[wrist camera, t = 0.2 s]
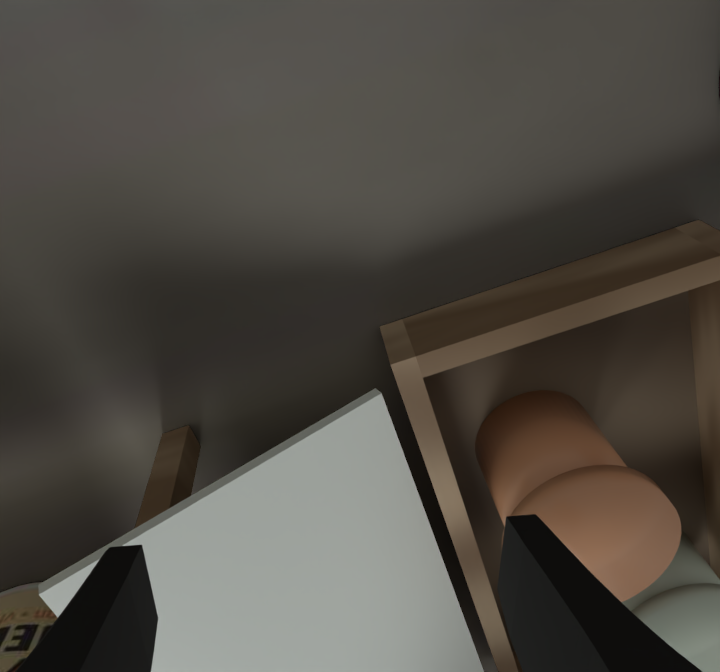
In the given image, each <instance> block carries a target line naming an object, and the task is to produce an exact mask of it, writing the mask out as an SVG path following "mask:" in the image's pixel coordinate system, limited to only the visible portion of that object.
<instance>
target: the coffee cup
mask: <svg viewBox="0 0 720 672" xmlns="http://www.w3.org/2000/svg"><path fill="white" fill-rule="evenodd" d="M41 583H42V582H37V583H30V584H25V585H20V586H17V587H14V588H11V589H8V590H6V591H3V592H1V593H0V672H15V671H16V670H17V669H18V667H19V666H20V665H21V664H22V663H23V661H24V660H25V659H26V658H27V657H28V655H29V654H30V653H31V652H32V650H33V649H34V648H35V647H36V645H37V644H38V643H39V642H40V640H41V639H42V638H43V636H44V635H45V634H46V632H47V631H48V630H49V629H50V627H51V626H52V625H53V623H54V622H55V621H56V619H57V618H58V617H57V616H56V615H55V614H54V612H53V611H52V610H51V609H50V608H49V606H48V605H47V604H46V603H45V602H44V600H43V599H42V598H41V597H40V596H39V588H38V585H39V584H41Z"/></svg>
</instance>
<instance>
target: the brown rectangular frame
mask: <svg viewBox="0 0 720 672" xmlns="http://www.w3.org/2000/svg"><path fill="white" fill-rule="evenodd" d="M380 330H381V333H382V337H383V340H384V344H385V348H386V351H387V355H388V358H389V362H390V365H391V368H392V371H393V374H394V376H395V379H396V382H397V385H398V388H399V391H400V394H401V396H402V399H403V402H404V405H405V408H406V411H407V414H408V416H409V419H410V422H411V425H412V428H413V431H414V433H415V436H416V439H417V442H418V445H419V448H420V451H421V453H422V456H423V459H424V462H425V465H426V468H427V471H428V473H429V476H430V479H431V482H432V485H433V488H434V490H435V493H436V496H437V499H438V502H439V505H440V508H441V510H442V513H443V516H444V519H445V522H446V525H447V528H448V530H449V533H450V536H451V539H452V542H453V545H454V547H455V550H456V553H457V556H458V559H459V562H460V565H461V567H462V570H463V573H464V576H465V579H466V582H467V585H468V587H469V590H470V593H471V596H472V599H473V602H474V604H475V607H476V610H477V613H478V616H479V619H480V622H481V624H482V627H483V630H484V633H485V636H486V639H487V642H488V644H489V647H490V650H491V653H492V656H493V659H494V661H495V664H496V667H497V670H498V672H523V670H522V668H521V665H520V663H519V660H518V657H517V655H516V652H515V650H514V647H513V644H512V642H511V639H510V635H509V632H508V628H507V625H506V621H505V617H504V614H503V610H502V606H501V602H500V598H499V594H498V590H497V586H498V578H499V570H500V562H501V554H502V535H503V531H504V528H505V527H504V525H503V522H502V520H501V517H500V515H499V513H498V510H497V508H496V505H495V503H494V501H493V498H492V496H491V493H490V491H489V488H488V486H487V484H486V481H485V479H484V476H483V474H482V472H481V469H480V467H479V464H478V462H477V459H476V455H475V441H476V437H477V433H478V431H479V429H480V427H481V425H482V423H483V422H484V420H485V419H486V418H487V416H488V415H489V414H490V413H491V412H492V411H493V410H494V409H495V408H497V407H498V406H499V405H500V404H502V403H504V402H505V401H507V400H509V399H511V398H512V397H515V396H517V395H520V394H523V393H526V392H531V391H537V390H550V391H557V392H561V393H564V394H567V395H569V396H571V397H573V398H574V399H575V400H577V401H578V402H579V403H580V404H581V405H582V406H583V407H584V409H585V410H586V411H587V413H588V414H589V415H590V417H591V418H592V420H593V421H594V422H595V424H596V425H597V426H598V428H599V429H600V430H601V432H602V433H603V434H604V436H605V437H606V439H607V440H608V441H609V443H610V444H611V445H612V447H613V448H614V449H615V451H616V452H617V454H618V455H619V456H620V458H621V459H622V460H623V462H624V463H625V464H626V466H627V467H628V468H631V469H635V470H637V471H639V472H641V473H643V474H645V475H647V476H648V477H649V478H651V479H652V480H653V481H654V482H655V483H656V484H657V485H658V486H659V487H660V489H661V490H662V491H663V493H664V494H665V495H666V497H667V498H668V499H669V500H670V502H671V503H672V504H673V506H674V507H675V509H676V510H677V513H678V515H679V518H680V522H681V530H682V531H684V533H685V534H686V535H687V537H688V538H689V539H690V541H691V542H692V543H693V545H694V546H695V547H696V549H697V550H698V551H699V553H700V554H701V555H702V557H703V558H704V559H705V561H706V562H707V563H708V565H709V566H710V567H711V569H712V570H713V571H714V573H715V574H716V575H717V576H718V578H719V579H720V231H719V230H717V229H716V228H714V227H712V226H710V225H708V224H706V223H704V222H702V221H700V220H696V221H693V222H690V223H687V224H684V225H681V226H678V227H675V228H672V229H669V230H666V231H664V232H661V233H658V234H655V235H652V236H649V237H646V238H643V239H640V240H637V241H634V242H631V243H628V244H625V245H622V246H619V247H616V248H613V249H610V250H607V251H604V252H601V253H598V254H595V255H592V256H589V257H586V258H583V259H580V260H577V261H574V262H571V263H568V264H565V265H562V266H559V267H556V268H553V269H550V270H547V271H544V272H541V273H538V274H535V275H532V276H529V277H526V278H523V279H520V280H517V281H514V282H511V283H508V284H505V285H502V286H499V287H496V288H493V289H490V290H487V291H484V292H481V293H478V294H475V295H472V296H469V297H467V298H464V299H461V300H458V301H455V302H452V303H449V304H446V305H443V306H440V307H437V308H434V309H431V310H428V311H425V312H422V313H419V314H416V315H413V316H410V317H407V318H404V319H401V320H398V321H395V322H392V323H389V324H386V325H383V326H380ZM200 447H201V446H200V444H199V443H198V441H197V439H196V437H195V435H194V434H193V432H192V430H191V428H190V426H189V425H187V426H184V427H181V428H178V429H175V430H172V431H169V432H166V433H163V434H162V437H161V440H160V444H159V447H158V450H157V454H156V457H155V461H154V464H153V467H152V471H151V474H150V478H149V481H148V484H147V488H146V491H145V495H144V498H143V501H142V505H141V508H140V512H139V515H138V518H137V522H136V525H135V528H137V527H138V526H140V525H142V524H143V523H145V522H147V521H149V520H150V519H152V518H154V517H155V516H157V515H159V514H161V513H162V512H164V511H166V510H167V509H169V508H171V507H173V506H174V505H176V504H178V503H179V502H181V501H183V500H185V499H186V498H188V497H190V496H191V492H192V487H193V482H194V477H195V472H196V467H197V462H198V457H199V452H200Z"/></svg>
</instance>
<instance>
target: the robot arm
mask: <svg viewBox="0 0 720 672" xmlns="http://www.w3.org/2000/svg"><path fill="white" fill-rule="evenodd" d="M497 590H498V594H499V598H500V602H501V606H502V610H503V614H504V617H505V621H506V625H507V628H508V632H509V635H510V639H511V642H512V644H513V647H514V650H515V652H516V655H517V657H518V660H519V663H520V665H521V668H522V670H523V672H702V671H701V670H700V669H699V668H697V667H696V666H695V665H693V664H692V663H691V662H690V661H688V660H687V659H686V658H685V657H683V656H682V655H681V654H679V653H678V652H677V651H676V650H674V649H673V648H672V647H671V646H670V645H668V644H667V643H666V642H665V641H664V640H663V639H661V638H660V637H659V636H658V635H657V634H656V633H655V632H653V631H652V630H651V629H650V628H649V627H648V626H647V625H646V624H644V623H643V622H642V621H641V620H640V619H639V618H638V617H637V616H636V615H634V614H633V613H632V612H631V611H630V610H629V609H628V608H627V607H626V606H625V605H624V604H623V603H622V602H621V601H619V600H618V599H617V598H616V597H615V596H614V595H613V594H612V593H611V592H610V591H609V590H608V589H607V588H606V587H605V586H604V585H603V584H602V583H601V582H600V581H599V580H598V579H597V578H596V577H595V576H594V575H593V574H592V573H591V572H590V571H589V570H588V569H587V568H586V567H585V566H584V565H583V564H582V563H581V562H580V561H579V559H578V558H577V557H576V556H575V555H574V554H573V553H572V552H571V551H570V550H569V549H568V548H567V547H566V546H565V545H564V544H563V543H562V542H561V540H560V539H559V538H558V537H557V536H556V535H555V534H554V533H553V532H552V531H551V530H550V529H549V527H548V526H547V525H546V524H545V523H544V522H543V521H542V520H541V519H540V518H539V517H538V516H537V515H536V514H530V515H518V516H506V521H505V529H504V537H503V545H502V554H501V562H500V570H499V578H498V586H497ZM157 624H158V615H157V611H156V606H155V601H154V597H153V592H152V588H151V583H150V579H149V574H148V570H147V565H146V560H145V556H144V551H143V547H142V545H130V546H117V547H109V548H108V549H107V550H106V551H105V553H104V554H103V555H102V557H101V558H100V560H99V561H98V563H97V564H96V565H95V567H94V568H93V570H92V571H91V573H90V574H89V576H88V577H87V578H86V580H85V581H84V583H83V584H82V585H81V587H80V588H79V590H78V591H77V592H76V594H75V595H74V597H73V598H72V599H71V601H70V602H69V603H68V605H67V606H66V608H65V609H64V610H63V612H62V613H61V614H60V615H59V617H58V618H57V619H56V621H55V622H54V623H53V625H52V626H51V627H50V629H49V630H48V631H47V632H46V634H45V635H44V636H43V638H42V639H41V640H40V642H39V643H38V644H37V645H36V647H35V648H34V649H33V650H32V652H31V653H30V654H29V655H28V657H27V658H26V659H25V660H24V661H23V663H22V664H21V665H20V666H19V667H18V669H17V670H16V671H15V672H151V668H152V661H153V654H154V647H155V639H156V631H157Z"/></svg>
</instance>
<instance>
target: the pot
mask: <svg viewBox="0 0 720 672" xmlns="http://www.w3.org/2000/svg"><path fill="white" fill-rule="evenodd" d="M475 455H476V459H477V462H478V464H479V467H480V469H481V472H482V474H483V476H484V479H485V481H486V484H487V486H488V488H489V491H490V493H491V496H492V498H493V501H494V503H495V505H496V508H497V510H498V513H499V515H500V517H501V520H502V522H503V525H504V527H505V521H506V516H518V515H530V514H536V515H537V516H538V517H539V518H540V519H541V520H542V521H543V522H544V523H545V524H546V525H547V526H548V527H549V529H550V530H551V531H552V532H553V533H554V534H555V535H556V536H557V537H558V538H559V539H560V540H561V542H562V543H563V544H564V545H565V546H566V547H567V548H568V549H569V550H570V551H571V552H572V553H573V554H574V555H575V556H576V557H577V558H578V559H579V561H580V562H581V563H582V564H583V565H584V566H585V567H586V568H587V569H588V570H589V571H590V572H591V573H592V574H593V575H594V576H595V577H596V578H597V579H598V580H599V581H600V582H601V583H602V584H603V585H604V586H605V587H606V588H607V589H608V590H609V591H610V592H611V593H612V594H613V595H614V596H615V597H616V598H617V599H618V600H619V601H621V602H623V601H626V600H628V599H630V598H631V597H633V596H635V595H637V594H638V593H640V592H641V591H643V590H644V589H646V588H647V587H648V586H650V585H651V584H652V583H653V582H654V581H655V580H657V579H658V578H659V577H660V576H661V575H662V573H663V572H664V571H665V570H666V569H667V567H668V566H669V565H670V563H671V561H672V560H673V558H674V556H675V554H676V552H677V550H678V547H679V544H680V539H681V522H680V518H679V515H678V513H677V510H676V509H675V507H674V506H673V504H672V503H671V502H670V500H669V499H668V498H667V497H666V495H665V494H664V493H663V491H662V490H661V489H660V487H659V486H658V485H657V484H656V483H655V482H654V481H653V480H652V479H651V478H649V477H648V476H647V475H645V474H643V473H641V472H639V471H637V470H635V469H631V468H628V467H627V466H626V464H625V463H624V462H623V460H622V459H621V458H620V456H619V455H618V454H617V452H616V451H615V449H614V448H613V447H612V445H611V444H610V443H609V441H608V440H607V439H606V437H605V436H604V434H603V433H602V432H601V430H600V429H599V428H598V426H597V425H596V424H595V422H594V421H593V420H592V418H591V417H590V415H589V414H588V413H587V411H586V410H585V409H584V407H583V406H582V405H581V404H580V403H579V402H578V401H577V400H575V399H574V398H573V397H571V396H569V395H567V394H564V393H561V392H557V391H550V390H537V391H531V392H526V393H523V394H520V395H517V396H515V397H512V398H511V399H509V400H507V401H505V402H504V403H502V404H500V405H499V406H498V407H497V408H495V409H494V410H493V411H492V412H491V413H490V414H489V415H488V416H487V418H486V419H485V420H484V422H483V423H482V425H481V427H480V429H479V431H478V433H477V437H476V441H475ZM504 529H505V528H504ZM503 537H504V531H503V535H502V545H503Z"/></svg>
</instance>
